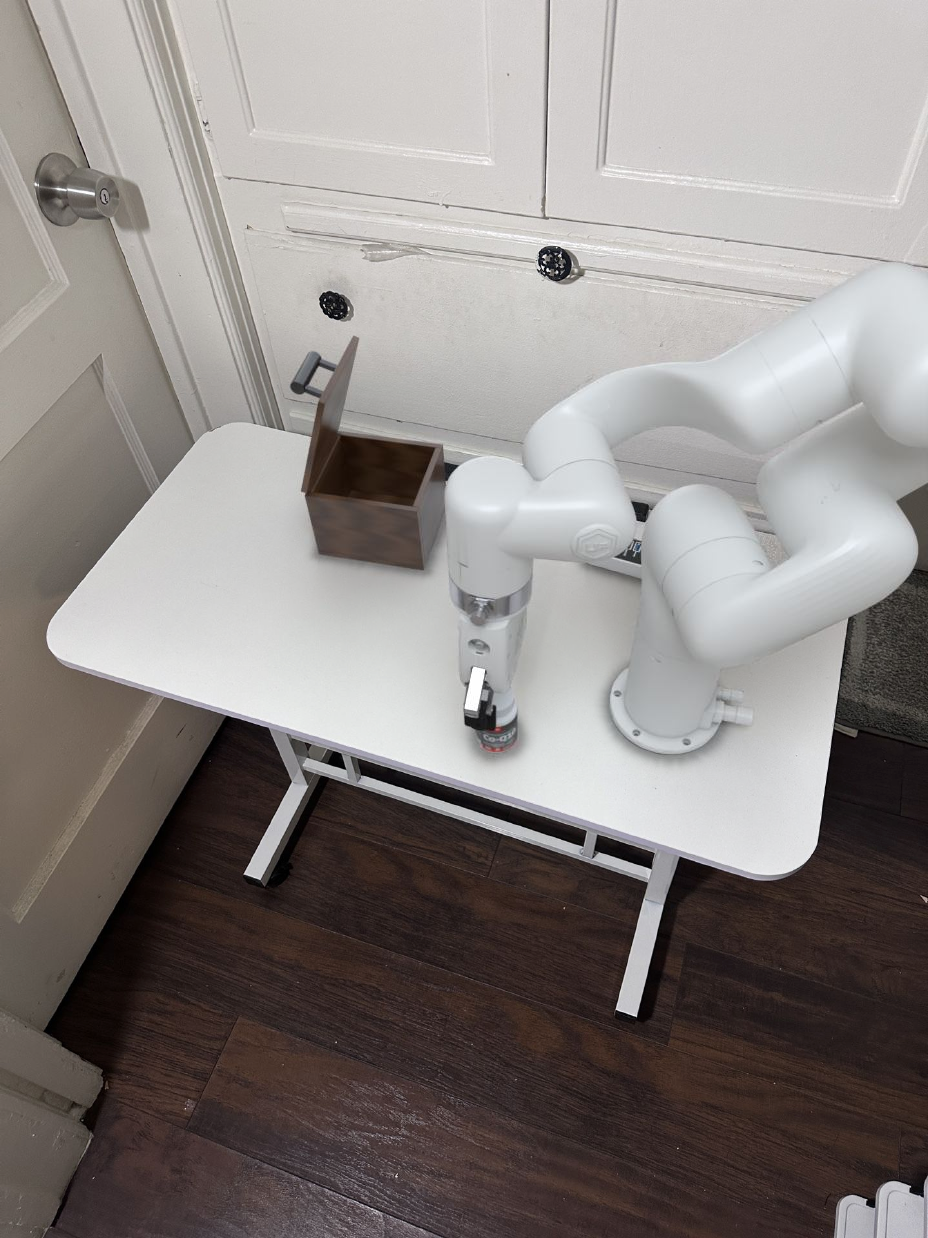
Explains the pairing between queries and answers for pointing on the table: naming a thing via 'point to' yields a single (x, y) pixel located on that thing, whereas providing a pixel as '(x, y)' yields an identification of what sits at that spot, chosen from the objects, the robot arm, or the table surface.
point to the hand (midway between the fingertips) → (490, 687)
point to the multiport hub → (625, 561)
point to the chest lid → (324, 404)
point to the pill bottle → (500, 724)
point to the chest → (378, 499)
